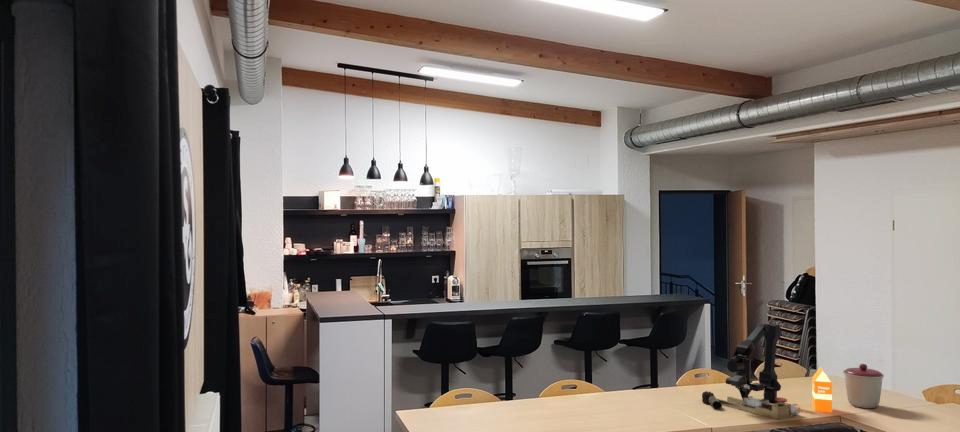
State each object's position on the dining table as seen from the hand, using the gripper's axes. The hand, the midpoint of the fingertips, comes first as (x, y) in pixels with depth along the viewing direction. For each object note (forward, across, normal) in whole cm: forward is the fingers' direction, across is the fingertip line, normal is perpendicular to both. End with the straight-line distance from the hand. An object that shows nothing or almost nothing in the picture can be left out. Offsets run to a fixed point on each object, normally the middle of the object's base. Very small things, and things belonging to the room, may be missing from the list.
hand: (744, 401), depth 338 cm
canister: (+3, +28, +54) cm, 61 cm away
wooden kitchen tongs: (+3, +5, +3) cm, 7 cm away
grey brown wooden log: (+4, -13, -9) cm, 16 cm away
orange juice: (+3, +22, +30) cm, 37 cm away
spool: (+3, +7, 0) cm, 7 cm away
